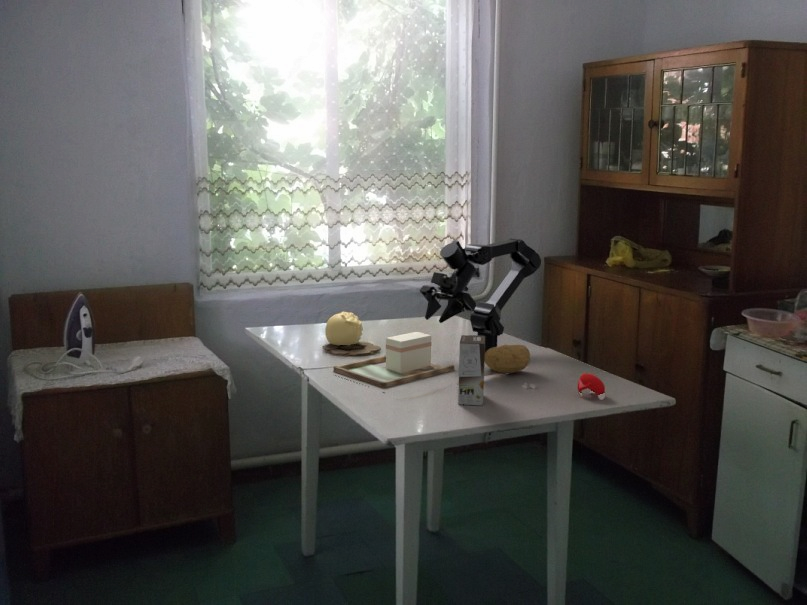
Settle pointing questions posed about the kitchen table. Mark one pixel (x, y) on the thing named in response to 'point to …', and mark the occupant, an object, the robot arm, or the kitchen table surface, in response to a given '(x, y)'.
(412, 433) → the kitchen table surface
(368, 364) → the tray
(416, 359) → the cream block
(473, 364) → the coffee box
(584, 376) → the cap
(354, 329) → the sculpture
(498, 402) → the kitchen table surface
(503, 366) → the potato
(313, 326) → the kitchen table surface
